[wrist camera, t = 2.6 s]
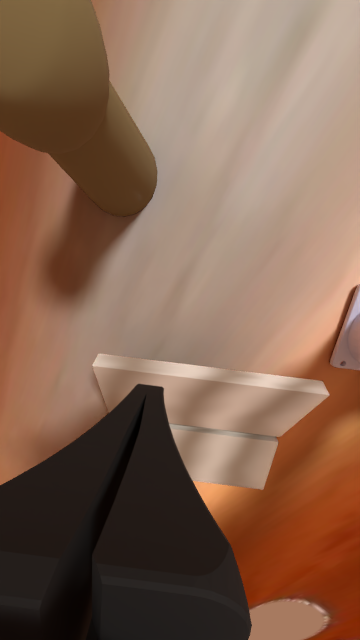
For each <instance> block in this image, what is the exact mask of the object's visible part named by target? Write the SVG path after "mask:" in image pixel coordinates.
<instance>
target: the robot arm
mask: <svg viewBox="0 0 360 640" xmlns="http://www.w3.org/2000/svg"><path fill="white" fill-rule="evenodd" d="M342 361H343V362H342ZM341 362H342V363H341ZM340 363H341V364H340ZM330 364H331V365H332V366H334V367H337V368H345V369H353V370H360V284H359V285H358V286H357V288H356V291H355V293H354V296H353V299H352V302H351V304H350V307H349V310H348V313H347V315H346V318H345V321H344V324H343V326H342V329H341V332H340V335H339V337H338V340H337V343H336V346H335V348H334V351H333V354H332V357H331V359H330ZM251 626H252V624H251V619H250V613H249V607H248V603H247V599H246V595H245V591H244V587H243V583H242V579H241V576H240V572H239V569H238V566H237V563H236V560H235V557H234V553H233V550H232V548H231V545H230V543H229V542H228V540H227V539H226V537H225V536H224V534H223V532H222V531H221V529H220V528H219V526H218V525H217V523H216V521H215V520H214V518H213V517H212V515H211V513H210V512H209V510H208V508H207V507H206V505H205V503H204V501H203V500H202V498H201V496H200V494H199V493H198V491H197V489H196V487H195V485H194V483H193V481H192V479H191V477H190V475H189V473H188V471H187V469H186V467H185V465H184V463H183V460H182V458H181V456H180V453H179V451H178V448H177V446H176V443H175V440H174V438H173V435H172V431H171V428H170V425H169V421H168V417H167V413H166V409H165V403H164V388H163V387H161V386H153V385H146V384H137V385H136V386H135V387H134V388H133V389H132V390H131V392H130V393H129V394H128V395H127V396H126V397H125V398H124V399H123V400H122V401H121V402H120V403H119V404H118V405H117V406H116V407H115V408H114V409H113V410H112V411H111V412H110V413H108V414H107V415H106V416H105V417H104V418H103V419H101V420H100V421H99V422H98V423H97V424H96V425H94V426H93V427H92V428H91V429H89V430H88V431H87V432H86V433H84V434H83V435H82V436H80V437H79V438H78V439H76V440H75V441H73V442H72V443H70V444H69V445H68V446H66V447H65V448H63V449H62V450H60V451H59V452H57V453H56V454H54V455H53V456H51V457H49V458H48V459H46V460H45V461H43V462H41V463H40V464H38V465H36V466H34V467H33V468H31V469H29V470H28V471H26V472H24V473H22V474H21V475H19V476H17V477H15V478H13V479H12V480H10V481H8V482H6V483H4V484H2V485H0V640H248V638H249V636H250V632H251Z"/></svg>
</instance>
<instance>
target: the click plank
mask: <svg viewBox="0 0 360 640" xmlns="http://www.w3.org/2000/svg"><path fill="white" fill-rule="evenodd" d="M92 367H93V369H94V372H95V375H96V378H97V381H98V384H99V387H100V389H101V392H102V395H103V398H104V401H105V404H106V407H107V409H108V412H109V413H110V412H111V411H112V410H113V409H114V408H115V407H116V406H117V405H118V404H119V403H120V402H121V401H122V400H123V399H124V398H125V397H126V396H127V395H128V394H129V393H130V392H131V390H132V389H133V388H134V387H135V386H136V385H137V384H146V385H153V386H161V387H163V388H164V403H165V409H166V413H167V417H168V421H169V423H172V424H180V425H188V426H196V427H204V428H212V429H220V430H228V431H236V432H244V433H252V434H260V435H269V436H277V437H281V436H282V435H283V434H284V433H285V432H287V431H288V430H289V429H290V428H291V427H293V426H294V425H295V424H296V423H297V422H298V421H300V420H301V419H302V418H303V417H304V416H306V415H307V414H308V413H309V412H310V411H312V410H313V409H314V408H315V407H316V406H318V405H319V404H320V403H321V402H322V401H323V400H325V399H326V398H327V397H328V396H329V395H330V394H329V393H328V391H327V389H326V387H325V385H324V383H323V381H319V380H311V379H302V378H294V377H286V376H278V375H270V374H262V373H254V372H245V371H237V370H229V369H221V368H213V367H205V366H197V365H188V364H180V363H172V362H164V361H156V360H148V359H140V358H131V357H123V356H115V355H107V354H98V356H97V358H96V360H95V361H94V363H93V365H92Z"/></svg>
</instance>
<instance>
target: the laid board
mask: <svg viewBox="0 0 360 640" xmlns="http://www.w3.org/2000/svg"><path fill="white" fill-rule="evenodd" d="M169 425H170V428H171V431H172V435H173V438H174V440H175V443H176V446H177V448H178V451H179V453H180V456H181V458H182V460H183V463H184V465H185V467H186V469H187V471H188V473H189V475H190V477H191V479H192V481H199V482H206V483H214V484H222V485H230V486H238V487H246V488H254V489H262V490H263V489H264V486H265V483H266V480H267V476H268V473H269V470H270V467H271V464H272V461H273V458H274V455H275V452H276V449H277V446H278V443H279V442H278V440H277V438H276V436H269V435H260V434H252V433H244V432H236V431H228V430H220V429H212V428H204V427H196V426H188V425H180V424H172V423H169Z"/></svg>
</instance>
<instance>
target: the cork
mask: <svg viewBox="0 0 360 640" xmlns="http://www.w3.org/2000/svg"><path fill="white" fill-rule="evenodd" d="M0 131H1V132H3V133H4V134H6V135H7V136H9V137H10V138H12V139H14V140H16V141H18V142H20V143H22V144H24V145H26V146H28V147H30V148H33V149H35V150H38V151H41V152H46V153H48V154H49V155H50V156H51V157H52V158H53V159H54V160H55V161H56V162H57V163H58V164H59V165H60V166H61V168H62V169H63V170H64V171H65V172H66V173H67V174H68V175H69V176H70V177H71V178H72V179H73V180H74V181H75V183H76V184H77V185H78V186H79V187H80V188H81V189H82V190H83V191H84V192H85V193H86V194H87V195H88V196H89V197H90V199H91V200H92V201H93V202H94V203H95V204H96V205H98V206H99V207H100V208H101V209H102V210H103V211H105V212H108V213H110V214H112V215H116V216H128V215H132V214H136V213H137V212H139V211H140V210H142V209H143V208H144V207H145V206H146V205H147V204H148V202H149V201H150V200H151V198H152V196H153V194H154V191H155V188H156V185H157V167H156V163H155V158H154V156H153V154H152V152H151V150H150V148H149V146H148V144H147V143H146V141H145V139H144V138H143V136H142V134H141V132H140V131H139V129H138V127H137V126H136V124H135V122H134V121H133V119H132V117H131V116H130V114H129V112H128V111H127V109H126V107H125V106H124V104H123V102H122V101H121V99H120V97H119V96H118V94H117V92H116V91H115V89H114V87H113V86H112V84H111V82H110V81H109V67H108V60H107V54H106V50H105V46H104V41H103V37H102V33H101V29H100V24H99V21H98V19H97V16H96V13H95V10H94V7H93V4H92V2H91V0H0Z"/></svg>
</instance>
